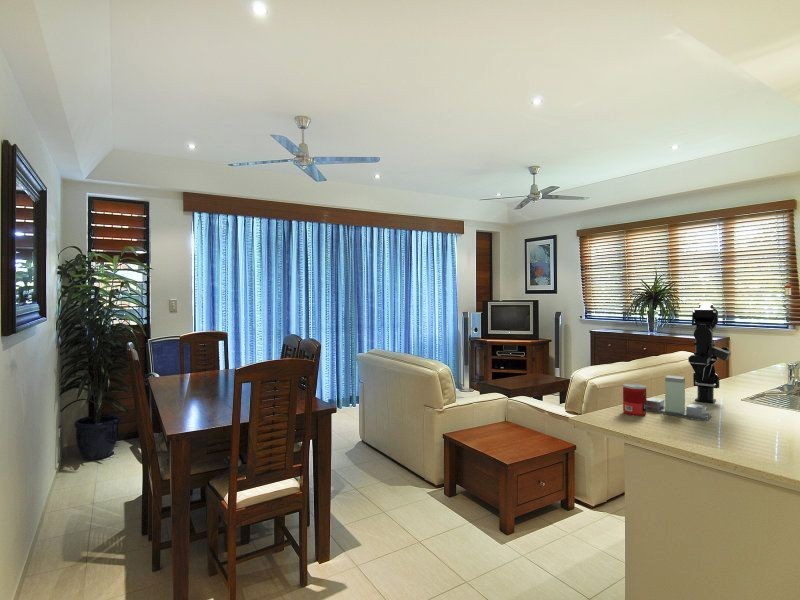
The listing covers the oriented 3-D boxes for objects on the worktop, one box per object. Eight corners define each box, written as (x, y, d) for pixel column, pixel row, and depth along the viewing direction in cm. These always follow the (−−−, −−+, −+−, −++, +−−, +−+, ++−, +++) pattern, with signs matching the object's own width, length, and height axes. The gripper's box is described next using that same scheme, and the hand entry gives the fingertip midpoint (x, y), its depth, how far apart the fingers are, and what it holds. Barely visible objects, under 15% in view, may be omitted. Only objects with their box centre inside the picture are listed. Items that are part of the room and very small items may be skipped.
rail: (647, 406, 183) (647, 396, 183) (711, 416, 167) (711, 406, 167) (640, 409, 177) (640, 399, 177) (706, 421, 161) (706, 410, 161)
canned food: (648, 417, 167) (648, 388, 167) (624, 415, 170) (624, 386, 170) (644, 411, 175) (644, 383, 174) (621, 410, 177) (621, 382, 177)
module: (666, 408, 176) (666, 375, 176) (684, 410, 172) (684, 377, 172) (665, 410, 172) (665, 377, 172) (683, 413, 168) (683, 379, 168)
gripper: (722, 343, 164) (722, 385, 164) (734, 339, 177) (734, 378, 177) (687, 341, 173) (687, 381, 173) (701, 337, 185) (701, 375, 185)
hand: (703, 379), depth 177 cm, fingers open, 9 cm apart
